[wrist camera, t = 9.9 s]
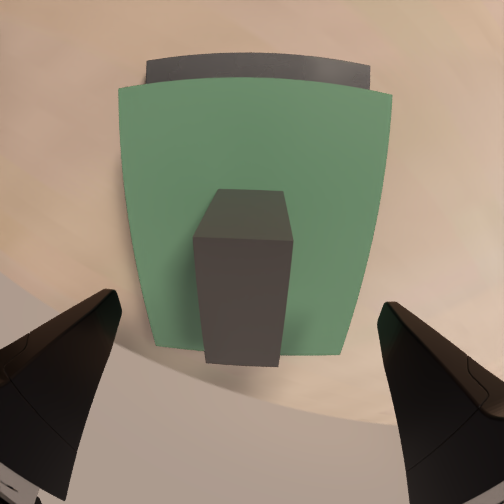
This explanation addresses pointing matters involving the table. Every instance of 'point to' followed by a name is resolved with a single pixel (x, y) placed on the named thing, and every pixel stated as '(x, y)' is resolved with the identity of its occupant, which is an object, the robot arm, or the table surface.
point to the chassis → (259, 68)
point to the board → (260, 155)
